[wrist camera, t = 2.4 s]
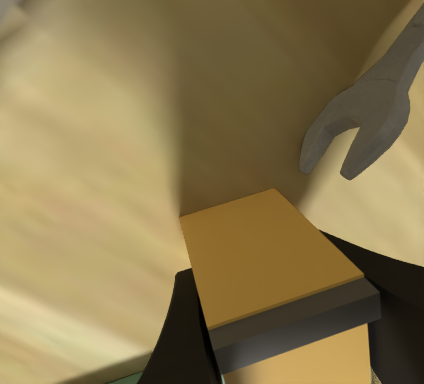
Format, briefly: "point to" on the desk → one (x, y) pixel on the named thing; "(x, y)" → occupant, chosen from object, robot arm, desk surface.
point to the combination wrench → (370, 106)
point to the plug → (279, 295)
